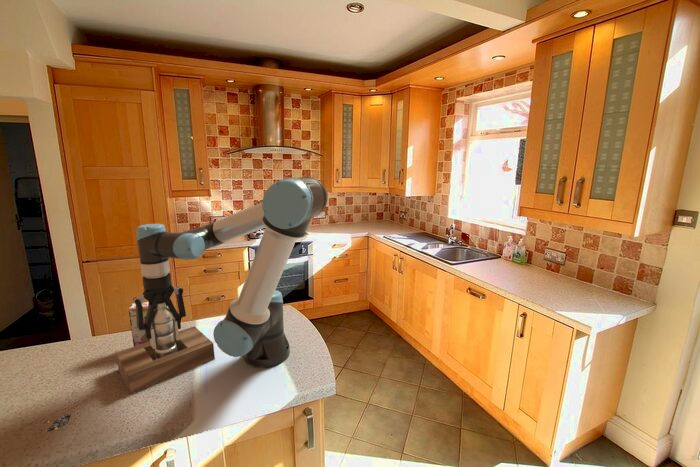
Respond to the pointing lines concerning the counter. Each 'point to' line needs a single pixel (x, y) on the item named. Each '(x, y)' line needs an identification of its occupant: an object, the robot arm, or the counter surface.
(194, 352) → the bottle caddy
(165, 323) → the plastic bottle
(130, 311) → the candy bar box
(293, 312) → the counter surface
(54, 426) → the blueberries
